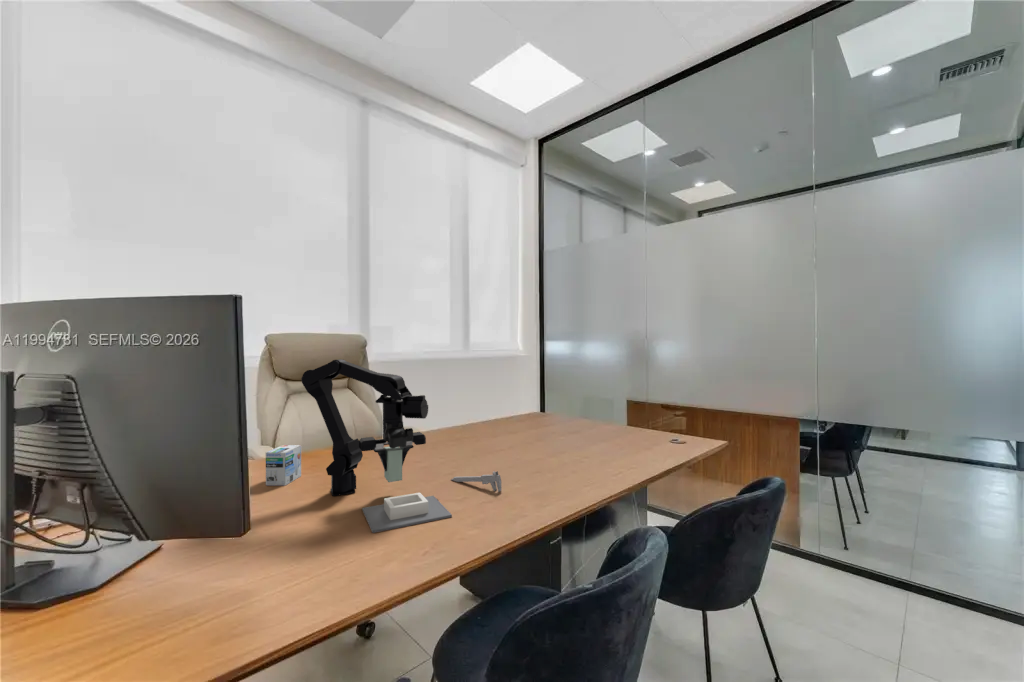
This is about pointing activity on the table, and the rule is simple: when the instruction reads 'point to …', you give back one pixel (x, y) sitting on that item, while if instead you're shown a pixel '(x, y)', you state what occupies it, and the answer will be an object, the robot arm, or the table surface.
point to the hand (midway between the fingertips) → (393, 469)
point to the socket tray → (404, 512)
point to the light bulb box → (283, 465)
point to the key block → (393, 464)
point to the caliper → (483, 480)
